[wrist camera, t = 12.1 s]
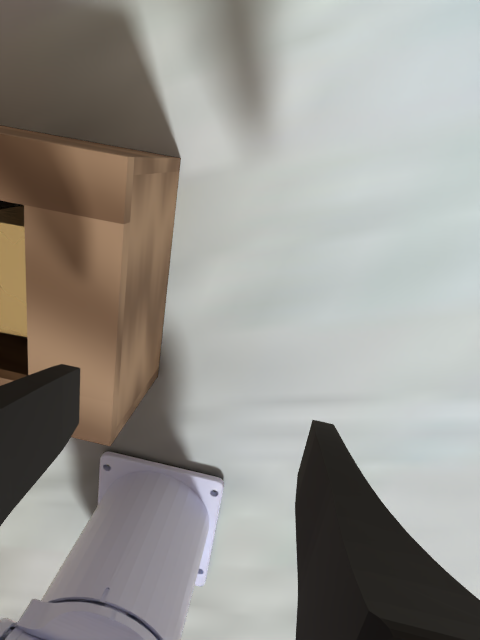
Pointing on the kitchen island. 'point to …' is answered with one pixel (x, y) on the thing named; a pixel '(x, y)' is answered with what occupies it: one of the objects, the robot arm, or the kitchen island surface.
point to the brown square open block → (91, 268)
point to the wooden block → (12, 272)
